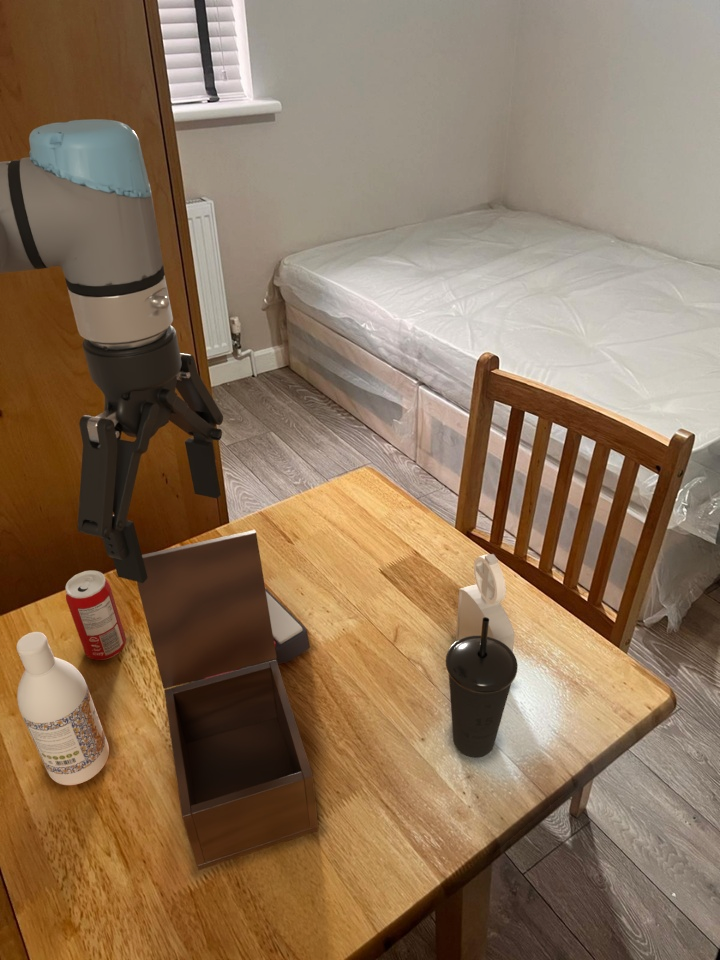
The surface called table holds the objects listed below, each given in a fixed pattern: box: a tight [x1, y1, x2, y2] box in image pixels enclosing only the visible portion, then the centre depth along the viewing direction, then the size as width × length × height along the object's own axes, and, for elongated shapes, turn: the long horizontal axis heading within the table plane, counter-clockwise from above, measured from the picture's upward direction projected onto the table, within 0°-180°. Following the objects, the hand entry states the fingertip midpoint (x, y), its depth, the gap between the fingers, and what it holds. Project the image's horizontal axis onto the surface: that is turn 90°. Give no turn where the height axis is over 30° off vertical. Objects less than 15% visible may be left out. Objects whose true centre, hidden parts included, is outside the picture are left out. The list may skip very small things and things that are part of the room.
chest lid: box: [136, 529, 276, 690], centre depth 79 cm, size 17×13×1 cm
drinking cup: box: [445, 617, 518, 759], centre depth 80 cm, size 8×8×20 cm
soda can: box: [64, 569, 127, 661], centre depth 96 cm, size 6×6×12 cm
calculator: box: [193, 587, 311, 682], centre depth 97 cm, size 11×4×15 cm
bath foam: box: [16, 631, 110, 786], centre depth 80 cm, size 7×7×20 cm
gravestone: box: [455, 553, 516, 653], centre depth 91 cm, size 3×9×18 cm, turn 20°
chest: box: [163, 660, 319, 871], centre depth 79 cm, size 16×13×10 cm
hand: (173, 533), depth 72 cm, fingers open, 13 cm apart
